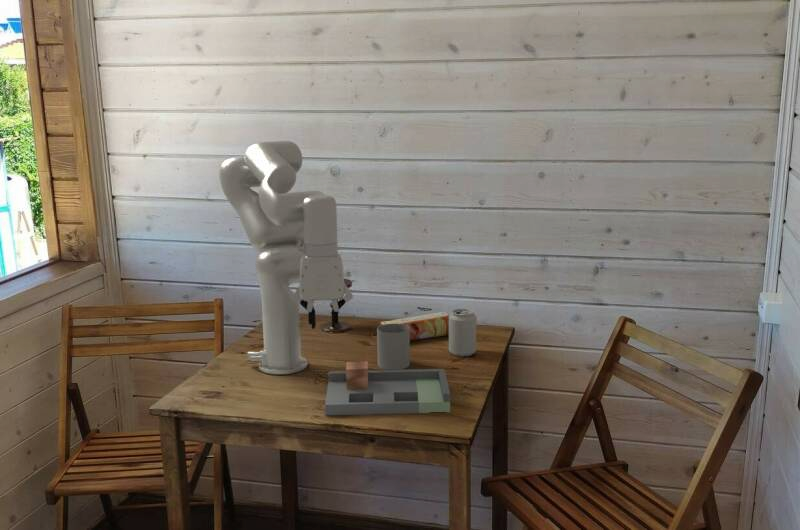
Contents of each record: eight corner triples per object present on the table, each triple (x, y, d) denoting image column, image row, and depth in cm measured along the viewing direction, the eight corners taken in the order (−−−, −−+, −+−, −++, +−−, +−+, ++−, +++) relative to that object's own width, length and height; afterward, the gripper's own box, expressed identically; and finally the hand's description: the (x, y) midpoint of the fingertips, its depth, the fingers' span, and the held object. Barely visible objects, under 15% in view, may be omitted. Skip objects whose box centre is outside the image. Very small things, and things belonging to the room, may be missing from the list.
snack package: (386, 347, 229) (386, 324, 227) (377, 340, 235) (377, 317, 233) (453, 337, 237) (453, 314, 235) (443, 330, 243) (443, 309, 241)
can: (459, 347, 227) (459, 305, 224) (481, 352, 222) (481, 310, 220) (443, 354, 221) (443, 311, 219) (465, 359, 217) (466, 316, 214)
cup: (405, 371, 209) (405, 333, 207) (374, 369, 210) (374, 332, 208) (412, 360, 217) (411, 324, 215) (382, 358, 218) (381, 322, 216)
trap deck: (325, 415, 182) (324, 396, 181) (329, 388, 197) (328, 371, 196) (450, 412, 182) (450, 393, 181) (444, 386, 198) (444, 368, 197)
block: (346, 389, 190) (346, 369, 189) (347, 381, 195) (346, 362, 194) (367, 388, 190) (367, 368, 189) (368, 381, 195) (367, 361, 194)
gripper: (282, 254, 181) (286, 332, 185) (357, 252, 181) (359, 331, 186) (286, 247, 188) (289, 323, 192) (358, 246, 189) (360, 321, 193)
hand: (323, 326), depth 189 cm, fingers open, 4 cm apart
